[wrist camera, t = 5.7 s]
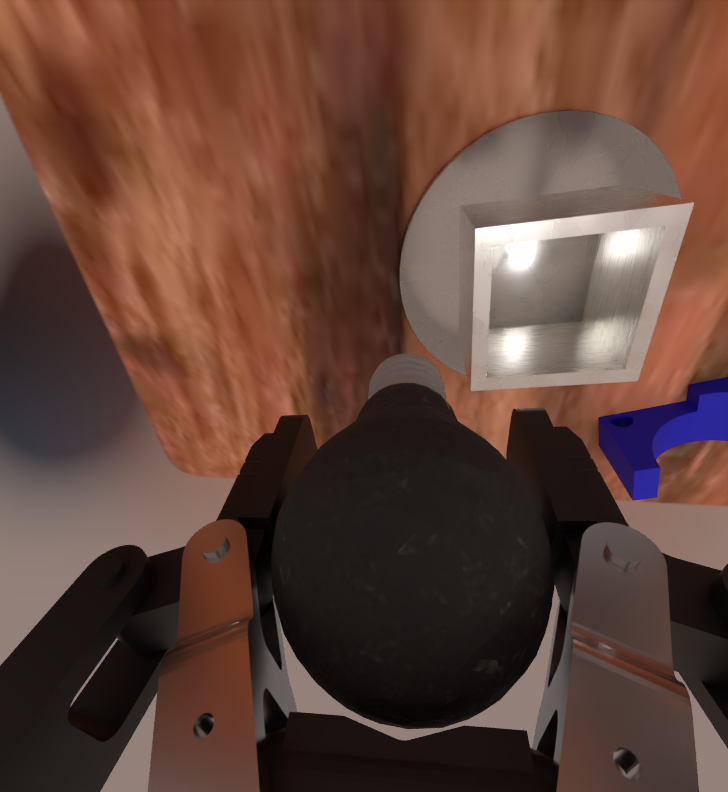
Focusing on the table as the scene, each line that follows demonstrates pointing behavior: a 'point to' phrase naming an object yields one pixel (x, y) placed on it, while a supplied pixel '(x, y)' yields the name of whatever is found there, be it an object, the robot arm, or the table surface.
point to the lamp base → (544, 253)
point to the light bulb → (411, 560)
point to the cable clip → (662, 434)
